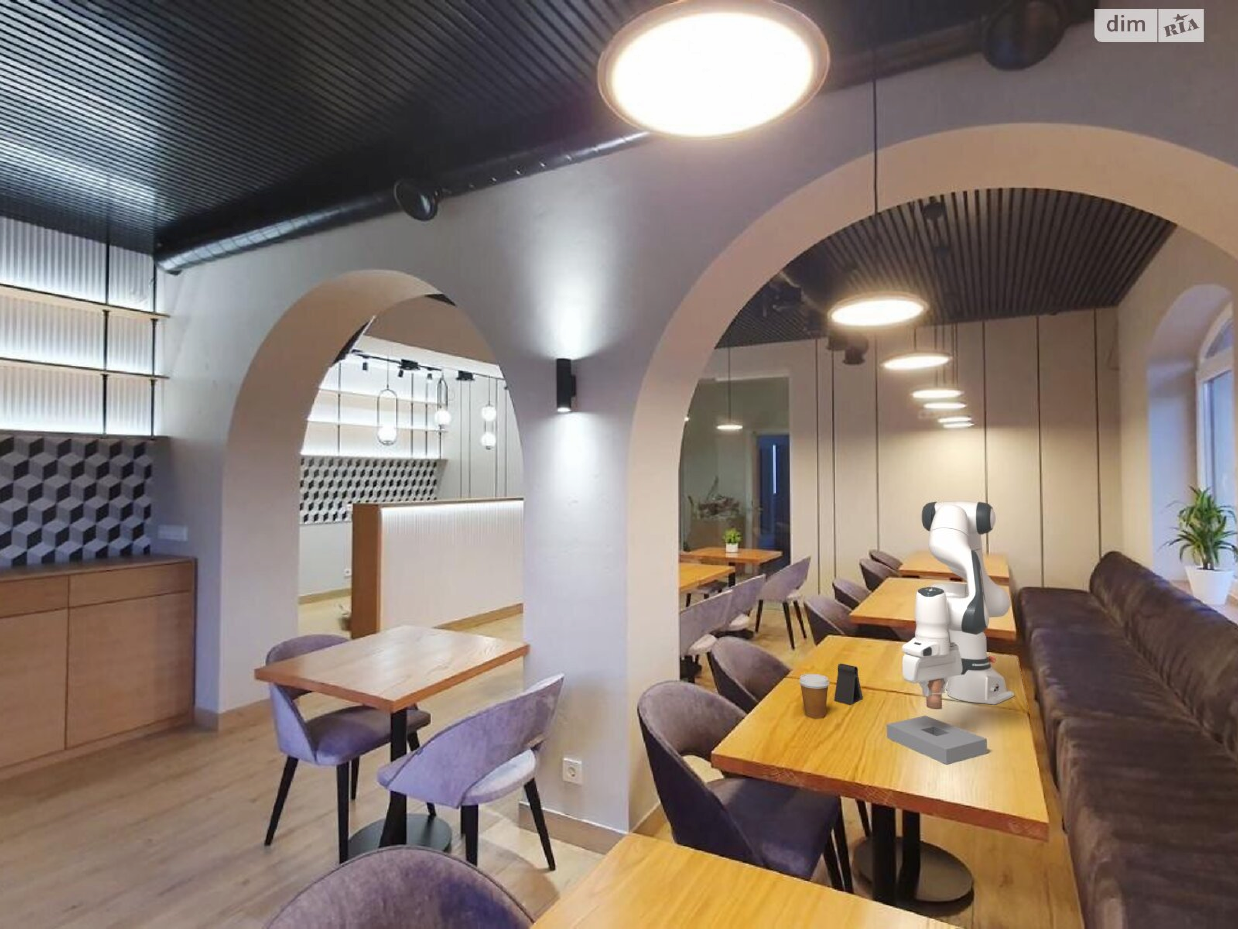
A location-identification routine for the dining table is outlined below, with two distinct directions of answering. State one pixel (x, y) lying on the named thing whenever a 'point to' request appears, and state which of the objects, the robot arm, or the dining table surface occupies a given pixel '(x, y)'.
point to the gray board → (937, 739)
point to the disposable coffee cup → (814, 694)
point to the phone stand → (848, 685)
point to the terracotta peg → (934, 695)
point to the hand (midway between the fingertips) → (933, 694)
